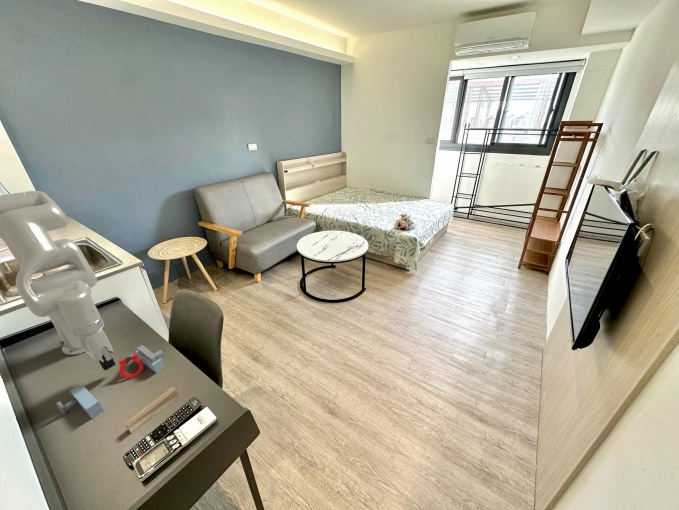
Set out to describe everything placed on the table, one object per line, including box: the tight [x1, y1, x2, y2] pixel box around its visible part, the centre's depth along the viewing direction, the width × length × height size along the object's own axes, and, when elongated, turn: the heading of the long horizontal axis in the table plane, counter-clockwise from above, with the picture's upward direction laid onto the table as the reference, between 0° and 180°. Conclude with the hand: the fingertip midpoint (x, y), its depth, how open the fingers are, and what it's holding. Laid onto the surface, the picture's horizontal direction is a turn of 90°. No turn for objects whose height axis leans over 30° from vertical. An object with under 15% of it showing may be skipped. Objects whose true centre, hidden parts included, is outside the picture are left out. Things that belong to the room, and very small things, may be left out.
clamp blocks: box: [55, 344, 166, 419], centre depth 91 cm, size 12×28×6 cm, turn 149°
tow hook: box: [118, 353, 144, 379], centre depth 99 cm, size 7×10×7 cm
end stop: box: [124, 386, 179, 434], centre depth 84 cm, size 2×14×3 cm, turn 149°
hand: (109, 366), depth 95 cm, fingers closed
